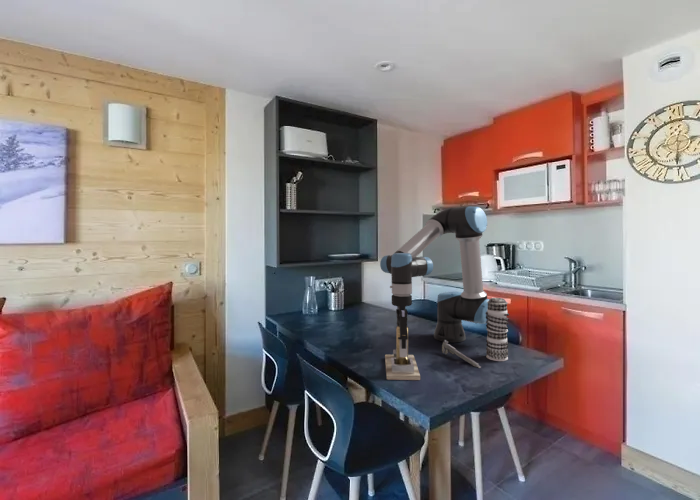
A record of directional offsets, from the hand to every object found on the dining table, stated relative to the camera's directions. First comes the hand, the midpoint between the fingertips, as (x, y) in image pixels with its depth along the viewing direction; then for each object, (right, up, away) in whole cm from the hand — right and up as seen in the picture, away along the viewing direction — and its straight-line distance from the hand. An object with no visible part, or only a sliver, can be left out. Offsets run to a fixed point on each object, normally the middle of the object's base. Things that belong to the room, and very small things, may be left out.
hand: (402, 350), depth 132 cm
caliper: (+26, -8, +13) cm, 31 cm away
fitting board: (0, -8, +5) cm, 10 cm away
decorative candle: (+42, -8, +15) cm, 46 cm away
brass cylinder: (0, -7, 0) cm, 7 cm away
